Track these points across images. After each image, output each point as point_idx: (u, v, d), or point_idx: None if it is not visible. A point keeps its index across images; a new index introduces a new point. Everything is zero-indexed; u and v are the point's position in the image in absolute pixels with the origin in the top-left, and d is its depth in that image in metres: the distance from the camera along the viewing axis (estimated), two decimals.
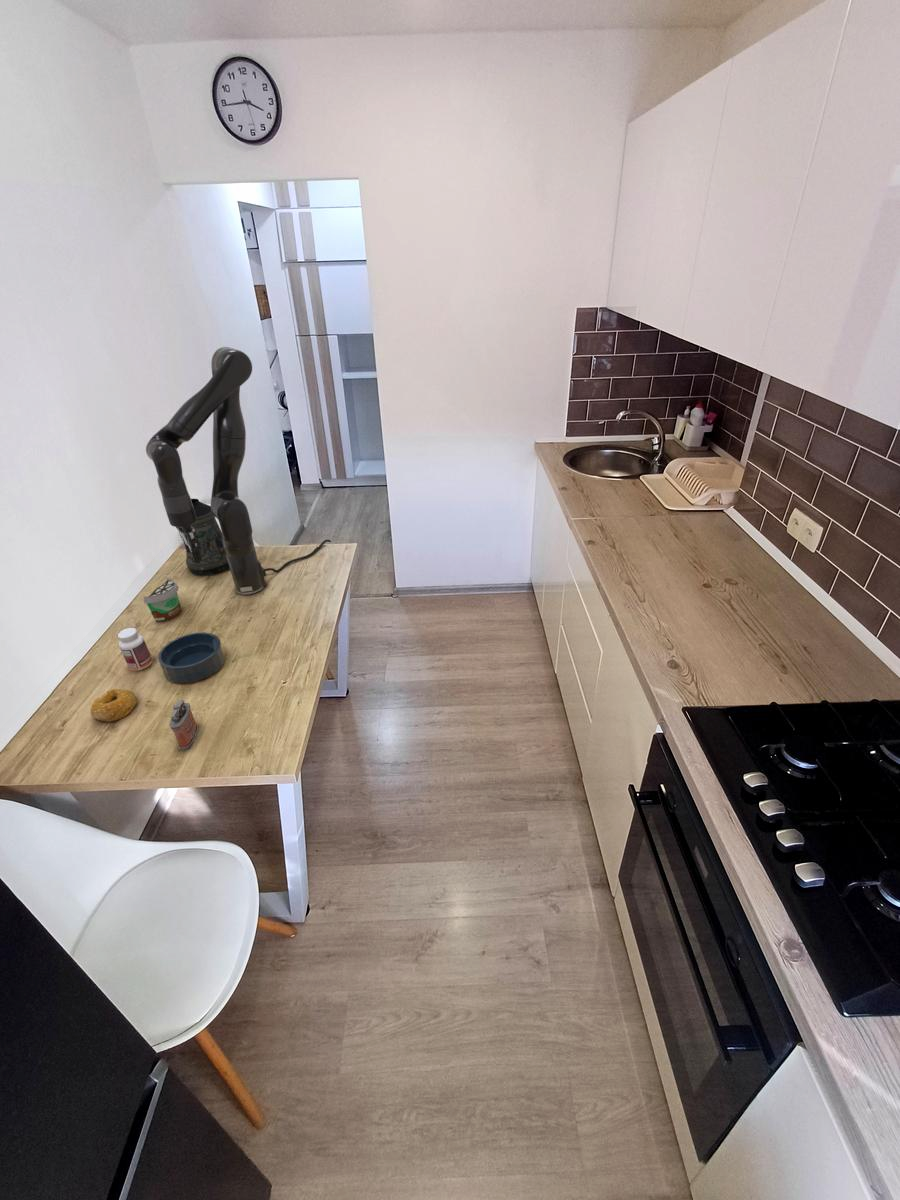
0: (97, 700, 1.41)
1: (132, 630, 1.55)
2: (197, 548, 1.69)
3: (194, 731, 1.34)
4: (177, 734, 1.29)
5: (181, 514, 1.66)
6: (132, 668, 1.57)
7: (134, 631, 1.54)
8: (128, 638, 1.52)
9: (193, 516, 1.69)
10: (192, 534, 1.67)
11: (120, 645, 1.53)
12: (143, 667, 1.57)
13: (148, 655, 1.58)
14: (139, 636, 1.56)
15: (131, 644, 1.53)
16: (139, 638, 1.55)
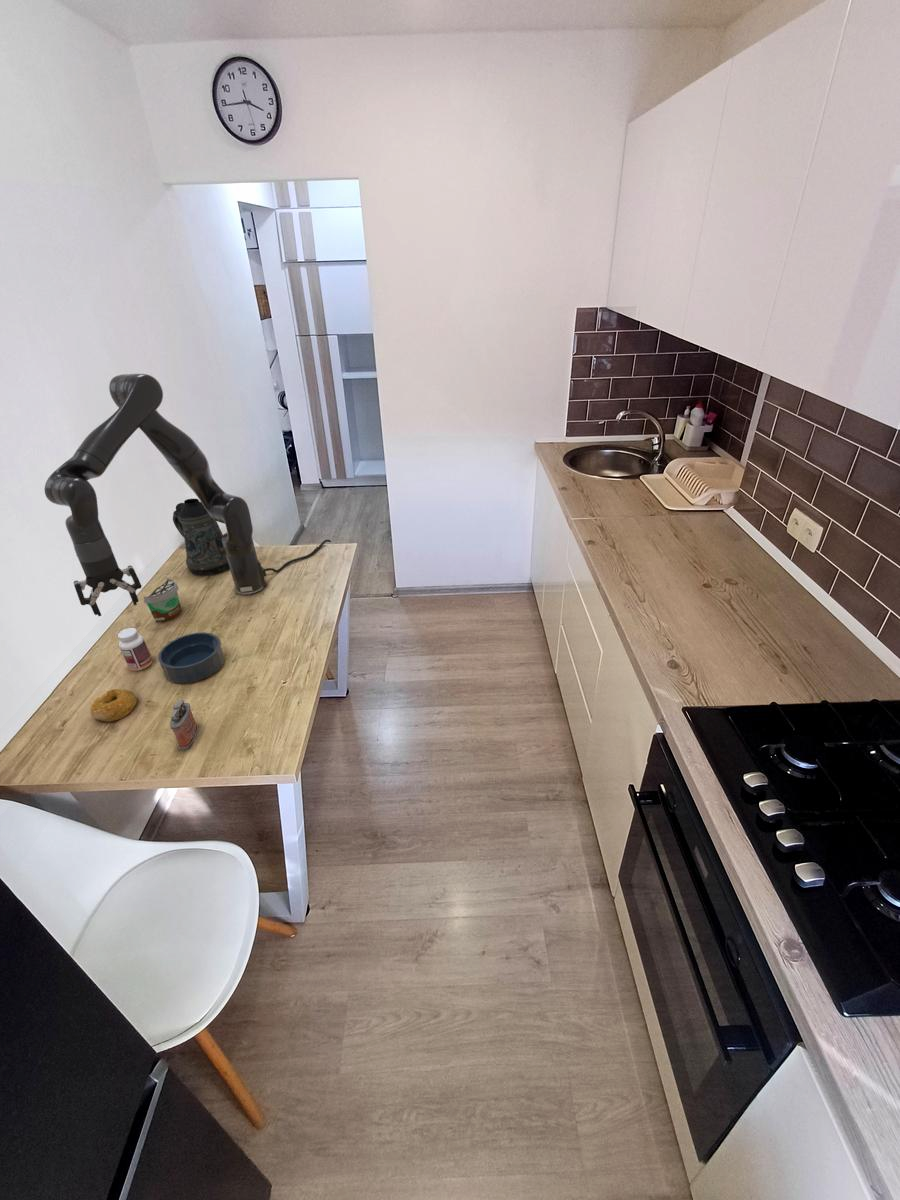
0: (97, 700, 1.41)
1: (132, 630, 1.55)
2: None
3: (194, 731, 1.34)
4: (177, 734, 1.29)
5: None
6: (132, 668, 1.57)
7: (134, 631, 1.54)
8: (128, 638, 1.52)
9: (89, 571, 1.40)
10: (74, 585, 1.41)
11: (120, 645, 1.53)
12: (143, 667, 1.57)
13: (148, 655, 1.58)
14: (139, 636, 1.56)
15: (131, 644, 1.53)
16: (139, 638, 1.55)
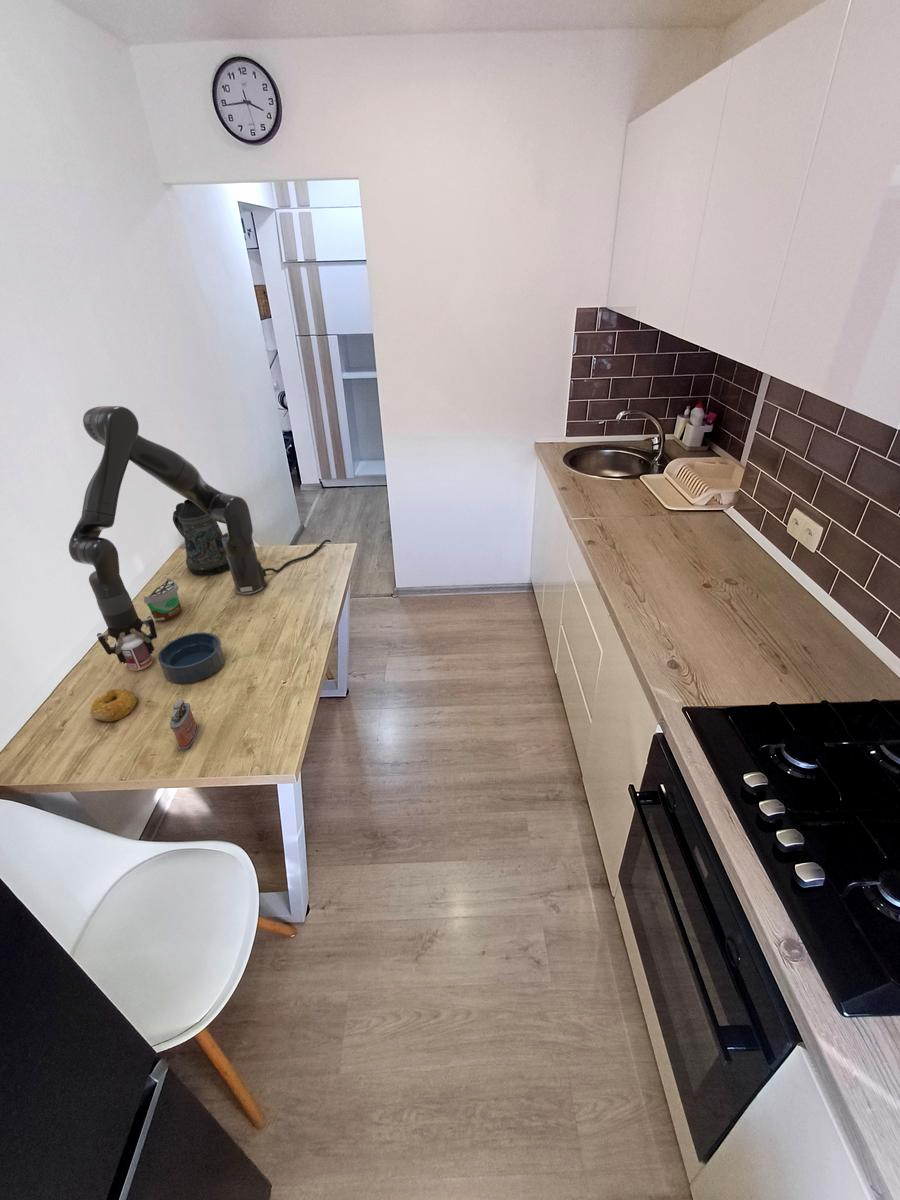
0: (97, 700, 1.41)
1: None
2: None
3: (194, 731, 1.34)
4: (177, 734, 1.29)
5: None
6: (132, 668, 1.57)
7: None
8: (128, 638, 1.52)
9: (111, 623, 1.48)
10: (98, 638, 1.50)
11: None
12: (143, 667, 1.57)
13: (148, 655, 1.58)
14: None
15: (131, 644, 1.53)
16: (139, 638, 1.55)
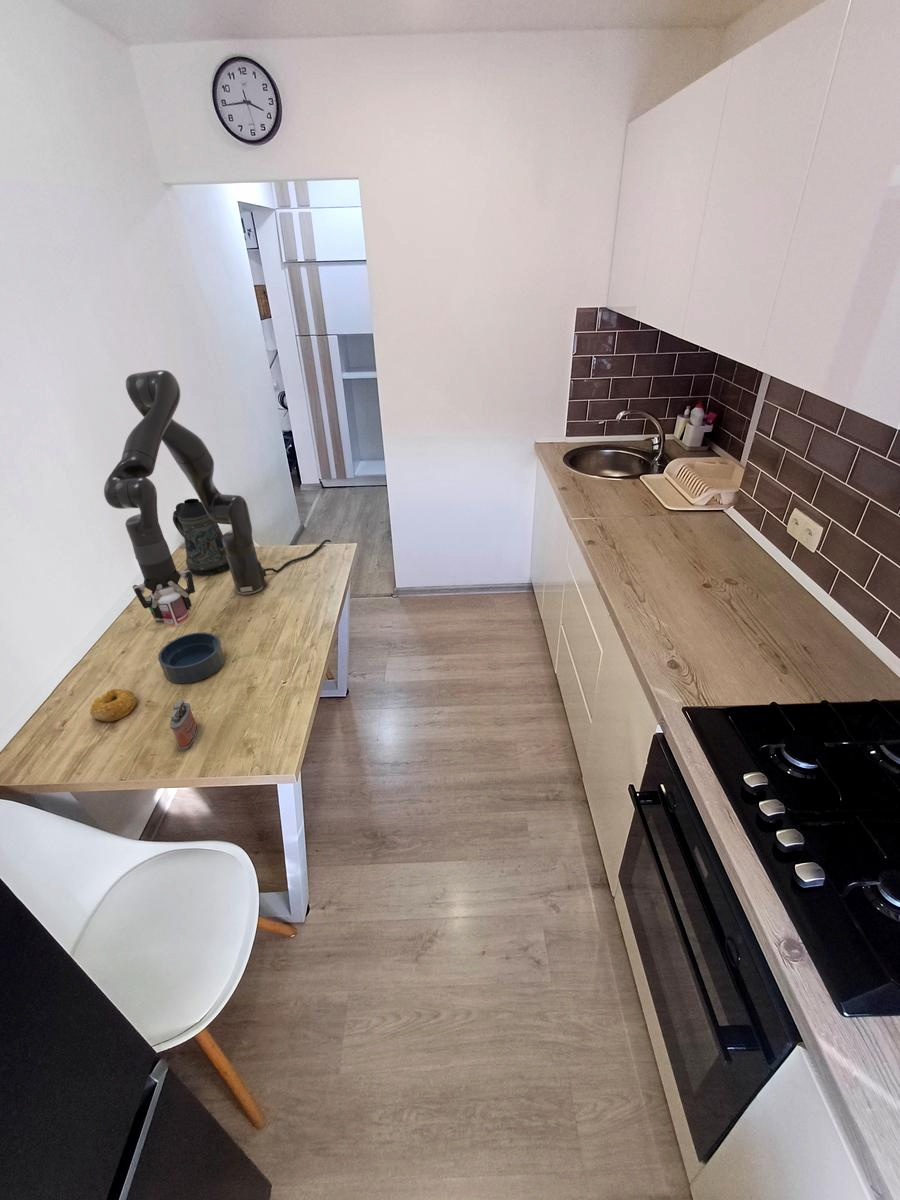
0: (97, 700, 1.41)
1: None
2: None
3: (194, 731, 1.34)
4: (177, 734, 1.29)
5: (138, 563, 1.39)
6: (169, 624, 1.47)
7: None
8: (165, 591, 1.43)
9: (148, 573, 1.38)
10: (134, 590, 1.40)
11: None
12: (180, 623, 1.47)
13: (185, 611, 1.48)
14: None
15: (168, 598, 1.43)
16: (177, 592, 1.45)
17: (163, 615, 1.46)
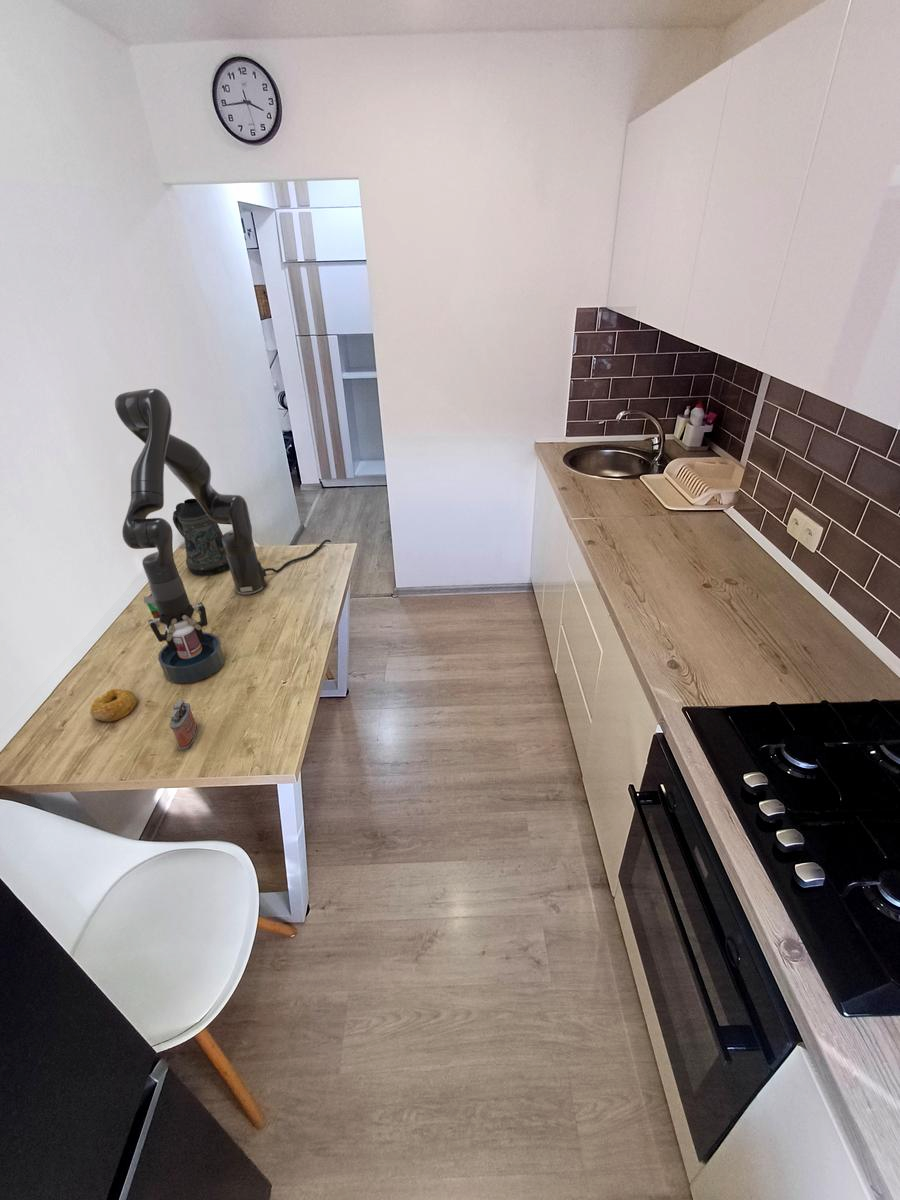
0: (97, 700, 1.41)
1: None
2: None
3: (194, 731, 1.34)
4: (177, 734, 1.29)
5: (154, 599, 1.44)
6: (182, 656, 1.52)
7: None
8: (180, 625, 1.48)
9: (163, 609, 1.43)
10: (149, 624, 1.45)
11: None
12: (194, 655, 1.53)
13: (198, 643, 1.54)
14: None
15: (183, 631, 1.49)
16: (190, 625, 1.51)
17: (177, 647, 1.51)
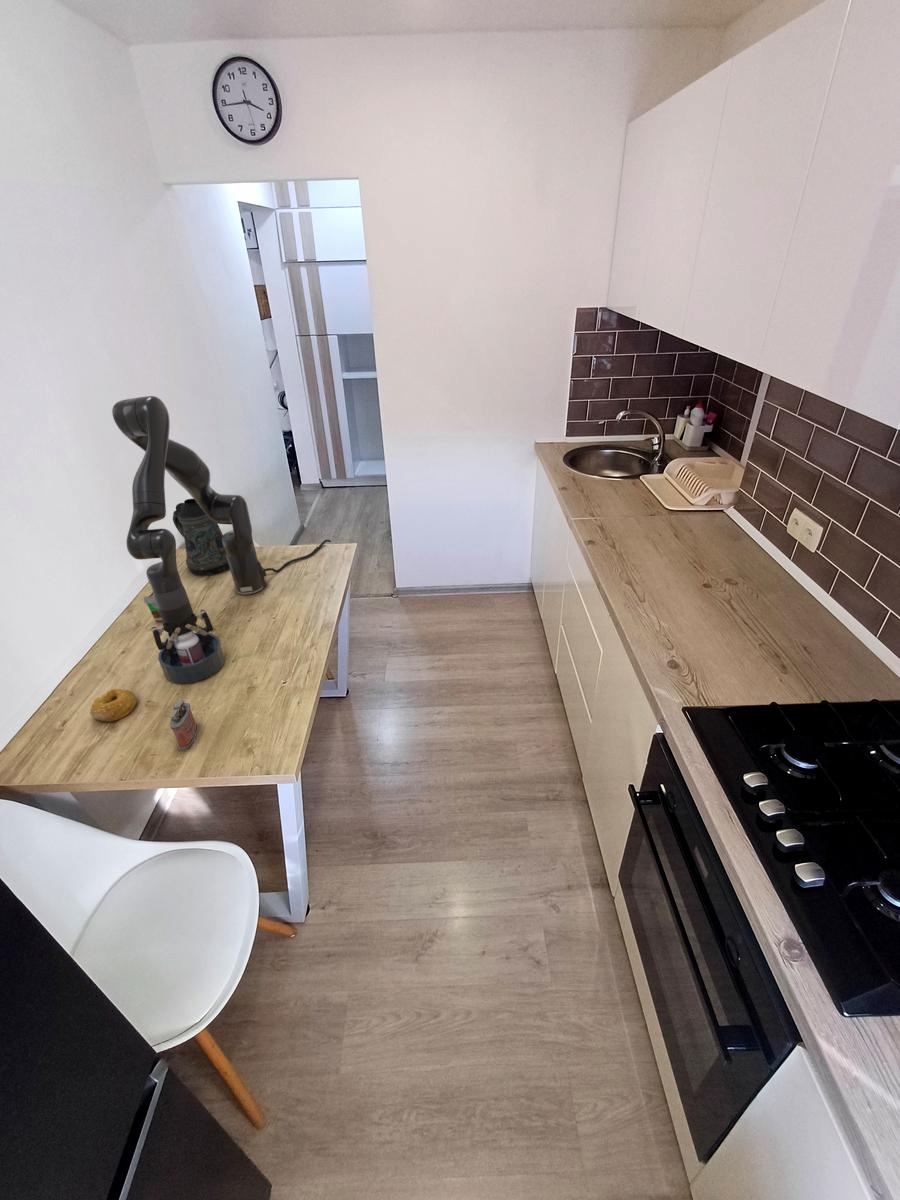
0: (97, 700, 1.41)
1: None
2: (157, 646, 1.49)
3: (194, 731, 1.34)
4: (177, 734, 1.29)
5: (158, 608, 1.45)
6: None
7: None
8: (184, 638, 1.50)
9: (167, 618, 1.45)
10: (152, 631, 1.46)
11: (176, 644, 1.51)
12: None
13: (202, 655, 1.56)
14: (194, 635, 1.53)
15: (187, 644, 1.51)
16: (195, 638, 1.53)
17: (182, 659, 1.53)
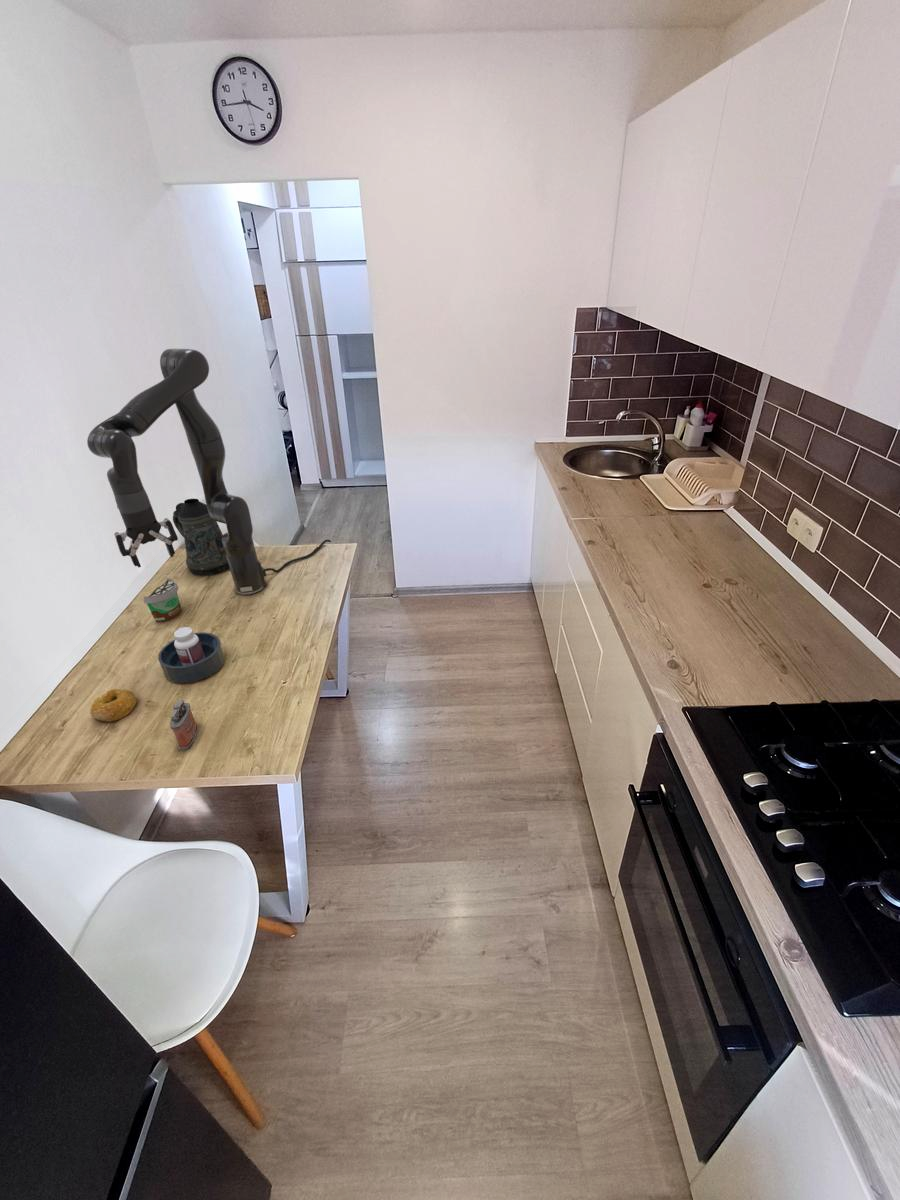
0: (97, 700, 1.41)
1: (188, 629, 1.52)
2: None
3: (194, 731, 1.34)
4: (177, 734, 1.29)
5: (120, 512, 1.46)
6: None
7: (190, 630, 1.52)
8: (184, 638, 1.50)
9: (130, 522, 1.46)
10: (115, 536, 1.47)
11: (176, 644, 1.51)
12: None
13: (202, 655, 1.56)
14: (194, 635, 1.53)
15: (187, 644, 1.51)
16: (195, 638, 1.53)
17: (182, 659, 1.53)
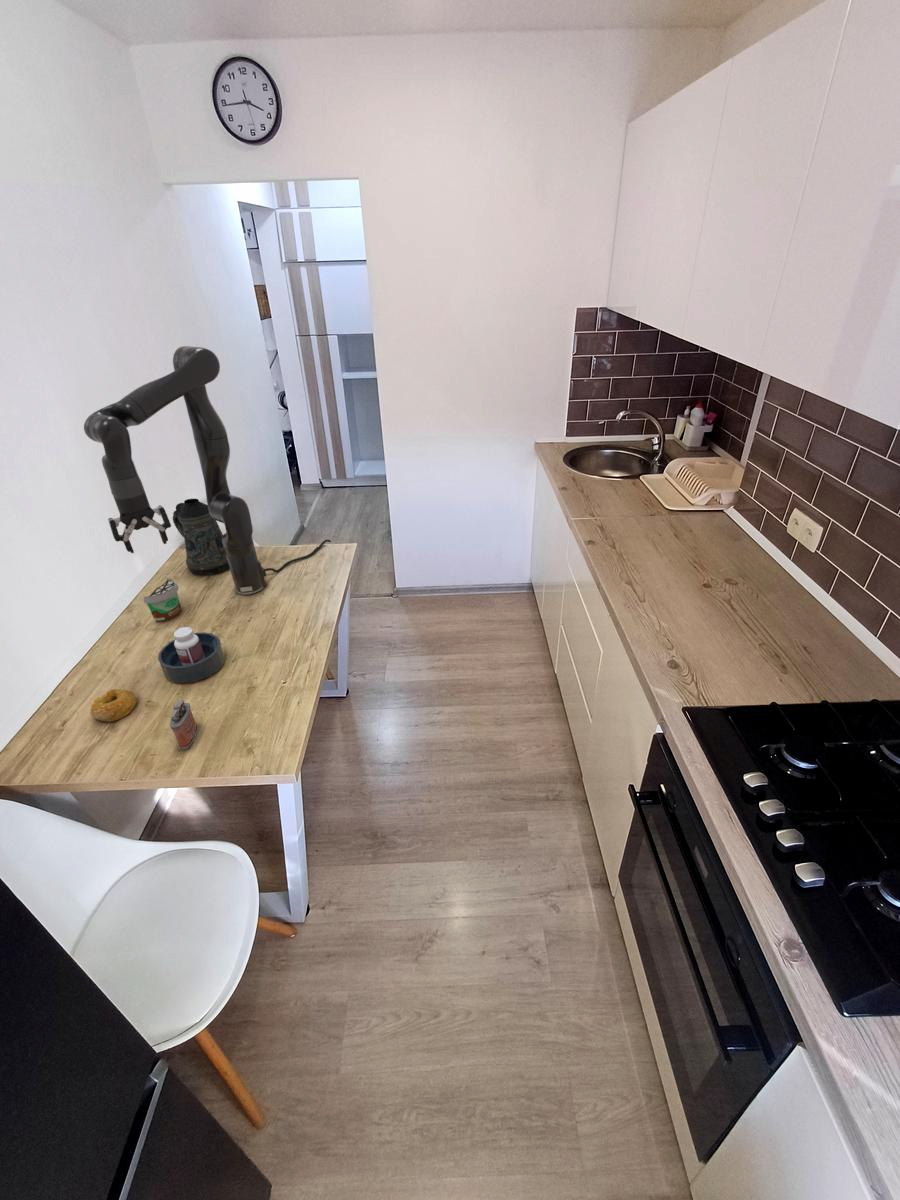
0: (97, 700, 1.41)
1: (188, 629, 1.52)
2: (114, 538, 1.52)
3: (194, 731, 1.34)
4: (177, 734, 1.29)
5: (114, 498, 1.49)
6: None
7: (190, 630, 1.52)
8: (184, 638, 1.50)
9: (123, 507, 1.48)
10: (109, 522, 1.50)
11: (176, 644, 1.51)
12: None
13: (202, 655, 1.56)
14: (194, 635, 1.53)
15: (187, 644, 1.51)
16: (195, 638, 1.53)
17: (182, 659, 1.53)
